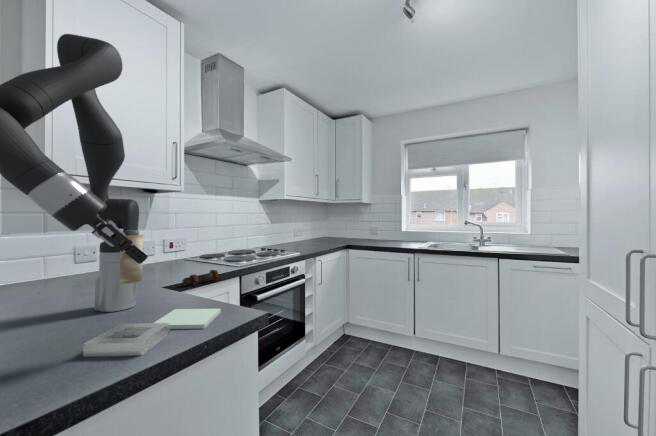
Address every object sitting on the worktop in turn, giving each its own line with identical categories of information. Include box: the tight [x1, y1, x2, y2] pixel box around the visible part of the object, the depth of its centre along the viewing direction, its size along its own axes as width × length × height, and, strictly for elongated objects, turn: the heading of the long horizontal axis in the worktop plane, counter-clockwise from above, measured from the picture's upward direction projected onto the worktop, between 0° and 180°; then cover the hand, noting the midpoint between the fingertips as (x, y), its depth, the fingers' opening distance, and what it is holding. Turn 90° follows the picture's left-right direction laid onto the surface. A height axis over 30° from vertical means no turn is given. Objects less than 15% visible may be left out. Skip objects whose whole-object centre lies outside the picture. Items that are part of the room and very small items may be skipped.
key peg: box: [120, 229, 144, 284], centre depth 61 cm, size 4×4×11 cm
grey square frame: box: [82, 322, 170, 358], centre depth 61 cm, size 11×11×2 cm
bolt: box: [181, 269, 220, 287], centre depth 122 cm, size 6×5×15 cm
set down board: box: [153, 308, 222, 330], centre depth 76 cm, size 13×13×1 cm
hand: (142, 259), depth 63 cm, fingers closed on key peg, 4 cm apart
